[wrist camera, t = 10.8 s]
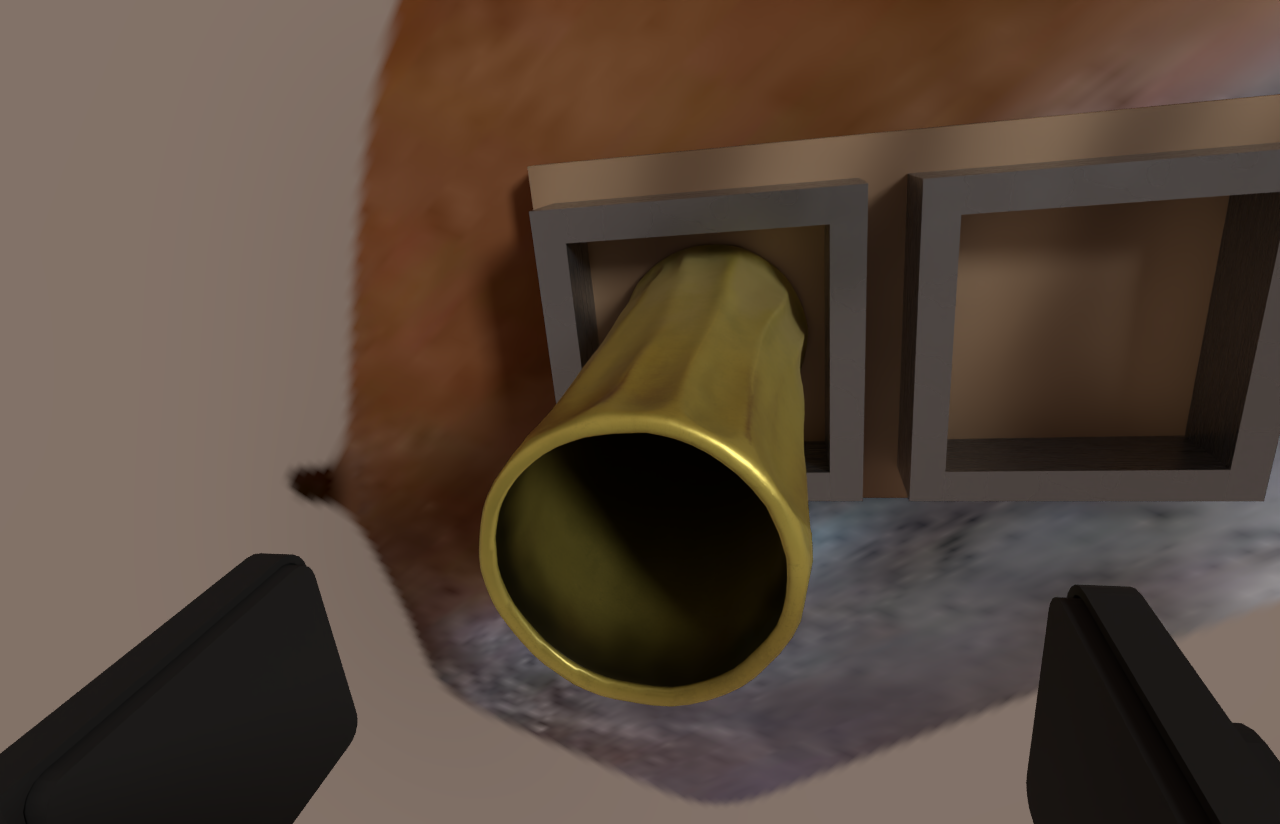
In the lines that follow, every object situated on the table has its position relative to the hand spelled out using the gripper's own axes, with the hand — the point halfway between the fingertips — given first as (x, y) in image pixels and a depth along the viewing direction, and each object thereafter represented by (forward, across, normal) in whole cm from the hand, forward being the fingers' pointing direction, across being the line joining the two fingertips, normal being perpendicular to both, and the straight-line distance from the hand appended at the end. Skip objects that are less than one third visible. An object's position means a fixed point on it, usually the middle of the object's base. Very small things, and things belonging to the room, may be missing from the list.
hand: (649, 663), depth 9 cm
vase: (+16, +1, 0) cm, 16 cm away
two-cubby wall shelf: (+16, -4, 0) cm, 17 cm away
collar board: (+18, -4, 0) cm, 18 cm away
